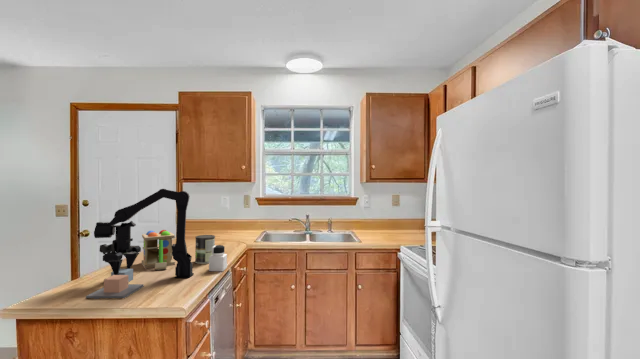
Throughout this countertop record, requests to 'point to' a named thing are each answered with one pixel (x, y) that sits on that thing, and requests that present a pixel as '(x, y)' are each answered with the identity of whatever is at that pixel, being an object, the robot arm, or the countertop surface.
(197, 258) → the coffee can
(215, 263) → the medicine bottle
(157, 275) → the countertop surface
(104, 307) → the countertop surface
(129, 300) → the countertop surface
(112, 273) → the slate-grey brick
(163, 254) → the pounding bench toy
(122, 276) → the terracotta brick
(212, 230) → the countertop surface
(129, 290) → the base plate
